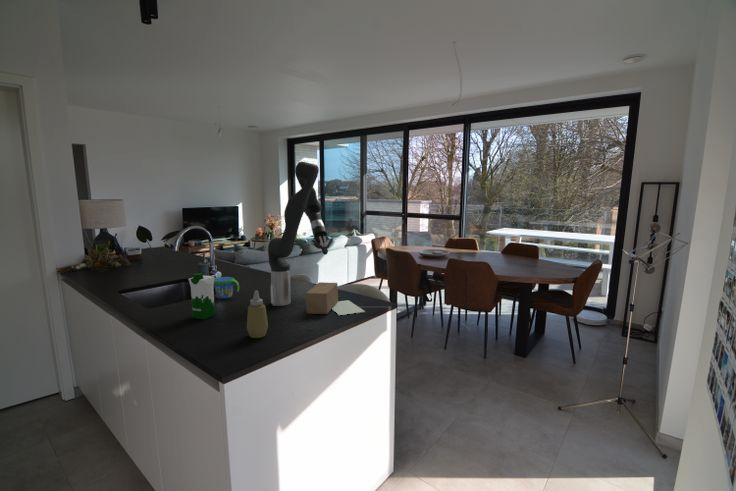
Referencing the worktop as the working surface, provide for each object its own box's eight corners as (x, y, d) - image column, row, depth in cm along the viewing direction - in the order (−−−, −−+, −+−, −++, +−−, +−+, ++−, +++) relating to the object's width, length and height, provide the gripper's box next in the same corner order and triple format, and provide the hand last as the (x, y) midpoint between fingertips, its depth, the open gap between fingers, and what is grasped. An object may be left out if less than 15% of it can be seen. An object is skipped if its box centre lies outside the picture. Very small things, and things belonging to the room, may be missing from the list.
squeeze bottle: (249, 332, 147) (247, 288, 144) (270, 331, 147) (268, 288, 145) (244, 340, 139) (242, 293, 136) (266, 339, 139) (264, 293, 137)
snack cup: (243, 295, 201) (242, 277, 199) (233, 300, 190) (233, 281, 189) (215, 294, 202) (214, 276, 201) (205, 299, 192) (204, 280, 190)
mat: (339, 315, 167) (339, 315, 167) (324, 304, 185) (324, 303, 185) (365, 312, 172) (365, 311, 172) (348, 300, 191) (348, 300, 191)
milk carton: (188, 318, 163) (185, 274, 160) (203, 312, 171) (201, 270, 168) (204, 320, 160) (201, 275, 157) (219, 314, 168) (216, 271, 166)
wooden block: (338, 301, 187) (327, 314, 168) (319, 301, 189) (306, 313, 170) (337, 282, 186) (326, 293, 166) (318, 282, 188) (305, 292, 168)
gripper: (308, 225, 203) (315, 250, 194) (331, 224, 209) (338, 248, 199) (306, 234, 209) (312, 258, 199) (328, 233, 214) (335, 256, 205)
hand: (325, 253), depth 199 cm, fingers closed
